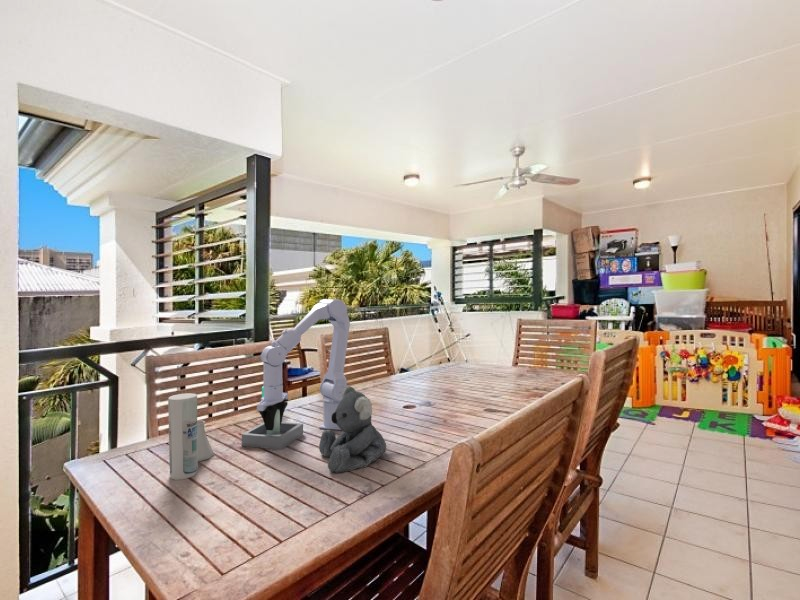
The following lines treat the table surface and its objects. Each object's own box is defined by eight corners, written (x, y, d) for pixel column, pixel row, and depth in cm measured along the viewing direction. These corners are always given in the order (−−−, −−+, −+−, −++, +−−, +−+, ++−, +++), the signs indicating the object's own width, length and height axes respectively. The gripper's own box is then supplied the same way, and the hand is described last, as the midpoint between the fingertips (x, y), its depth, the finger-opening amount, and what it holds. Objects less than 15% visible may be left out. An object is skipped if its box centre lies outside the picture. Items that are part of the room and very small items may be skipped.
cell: (282, 431, 128) (282, 407, 128) (275, 435, 124) (275, 411, 124) (271, 430, 129) (271, 406, 129) (264, 434, 125) (263, 410, 125)
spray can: (178, 468, 106) (177, 393, 106) (203, 468, 106) (202, 393, 106) (163, 479, 100) (162, 399, 99) (189, 480, 100) (188, 399, 99)
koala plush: (316, 452, 117) (316, 385, 117) (375, 442, 124) (374, 379, 124) (330, 477, 101) (330, 399, 101) (396, 464, 108) (396, 392, 108)
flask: (219, 454, 116) (218, 419, 116) (199, 464, 109) (198, 427, 109) (199, 451, 118) (199, 417, 118) (178, 460, 111) (178, 424, 111)
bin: (303, 434, 132) (303, 423, 132) (281, 449, 119) (281, 438, 119) (266, 431, 135) (266, 420, 135) (241, 445, 122) (241, 434, 122)
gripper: (274, 379, 135) (274, 419, 135) (247, 389, 120) (248, 434, 121) (293, 380, 133) (293, 421, 133) (268, 390, 119) (269, 436, 119)
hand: (273, 427), depth 127 cm, fingers closed on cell, 4 cm apart
